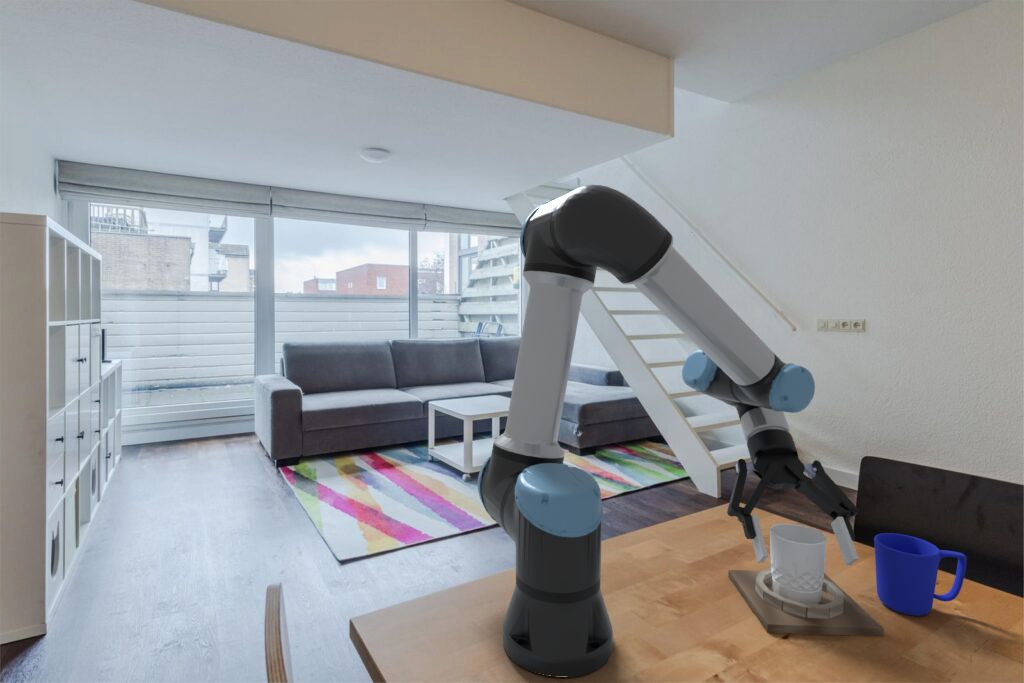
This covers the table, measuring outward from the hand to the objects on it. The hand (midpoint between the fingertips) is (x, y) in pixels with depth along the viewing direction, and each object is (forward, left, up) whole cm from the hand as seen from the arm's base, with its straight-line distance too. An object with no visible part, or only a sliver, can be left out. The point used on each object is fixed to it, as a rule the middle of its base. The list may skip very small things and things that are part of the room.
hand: (807, 561), depth 80 cm
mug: (+18, +2, -8) cm, 20 cm away
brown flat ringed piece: (0, +2, -8) cm, 8 cm away
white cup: (0, +3, -7) cm, 7 cm away
